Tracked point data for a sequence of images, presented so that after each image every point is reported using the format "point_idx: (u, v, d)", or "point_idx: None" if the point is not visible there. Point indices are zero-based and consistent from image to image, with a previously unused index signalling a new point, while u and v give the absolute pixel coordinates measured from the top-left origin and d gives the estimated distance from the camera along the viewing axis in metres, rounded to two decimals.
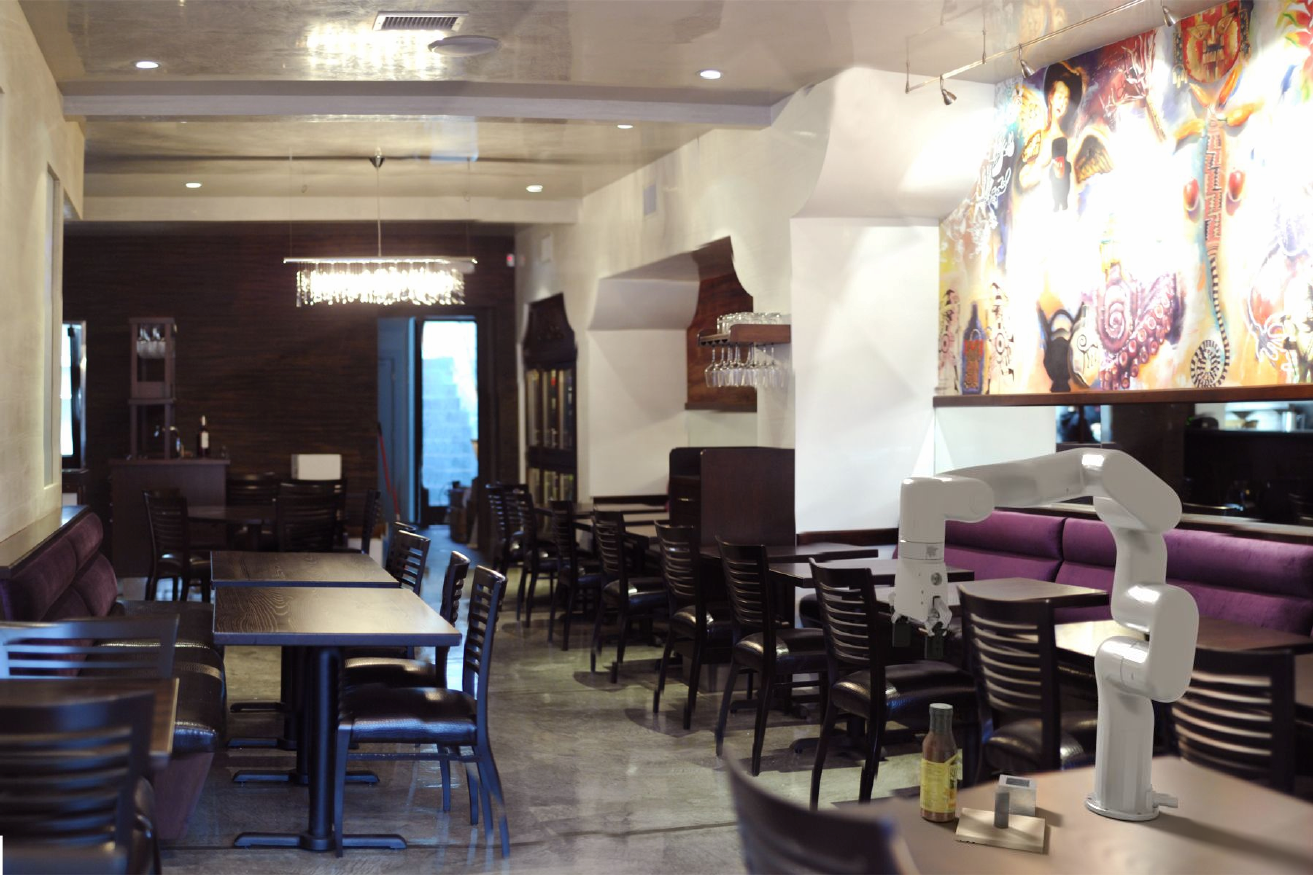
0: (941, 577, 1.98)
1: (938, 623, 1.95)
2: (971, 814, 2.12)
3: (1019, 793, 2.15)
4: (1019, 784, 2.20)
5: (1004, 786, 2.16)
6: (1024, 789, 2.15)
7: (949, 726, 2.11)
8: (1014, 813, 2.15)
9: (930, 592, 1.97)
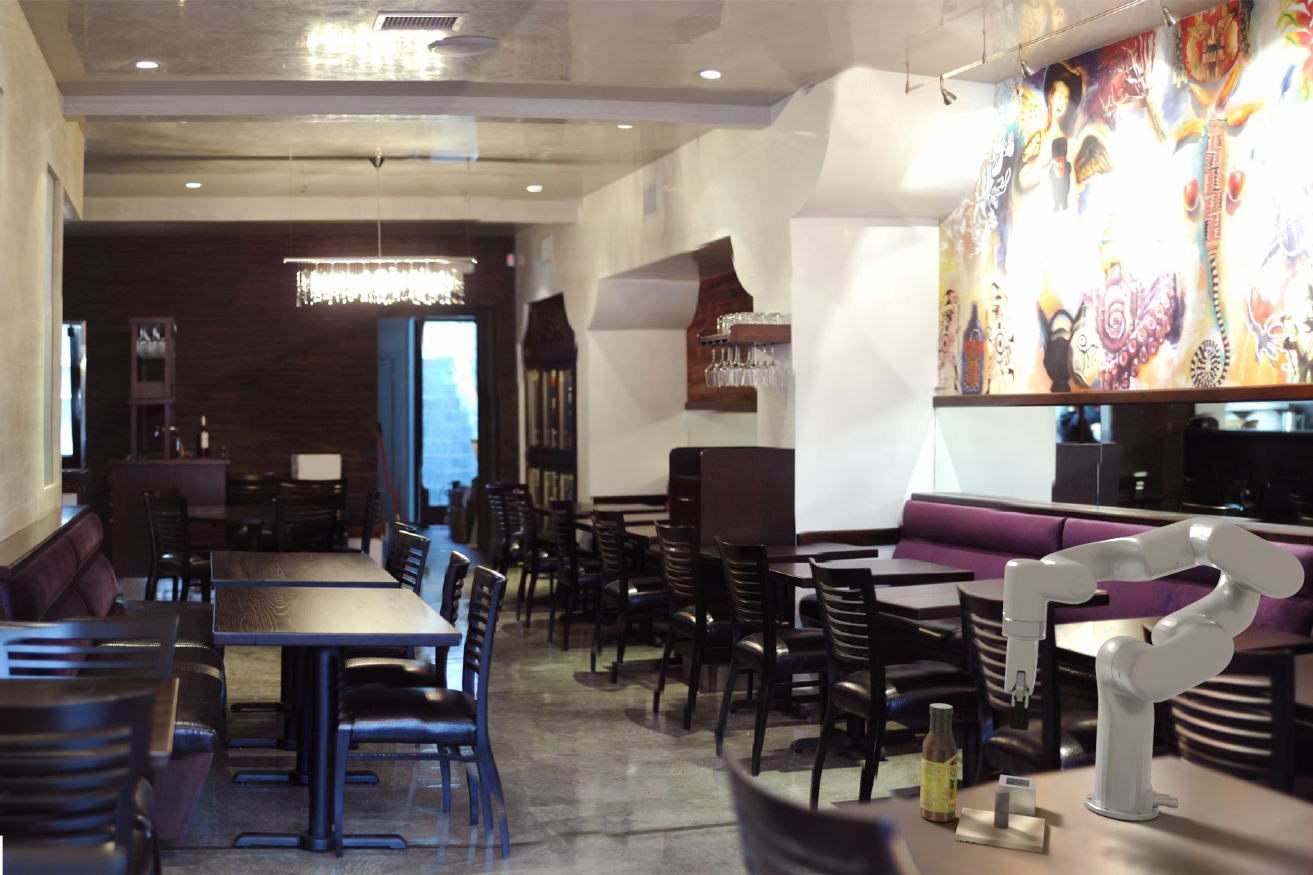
0: None
1: None
2: (971, 814, 2.12)
3: (1019, 793, 2.15)
4: (1019, 784, 2.20)
5: (1004, 786, 2.16)
6: (1024, 789, 2.15)
7: (949, 726, 2.11)
8: (1014, 813, 2.15)
9: None
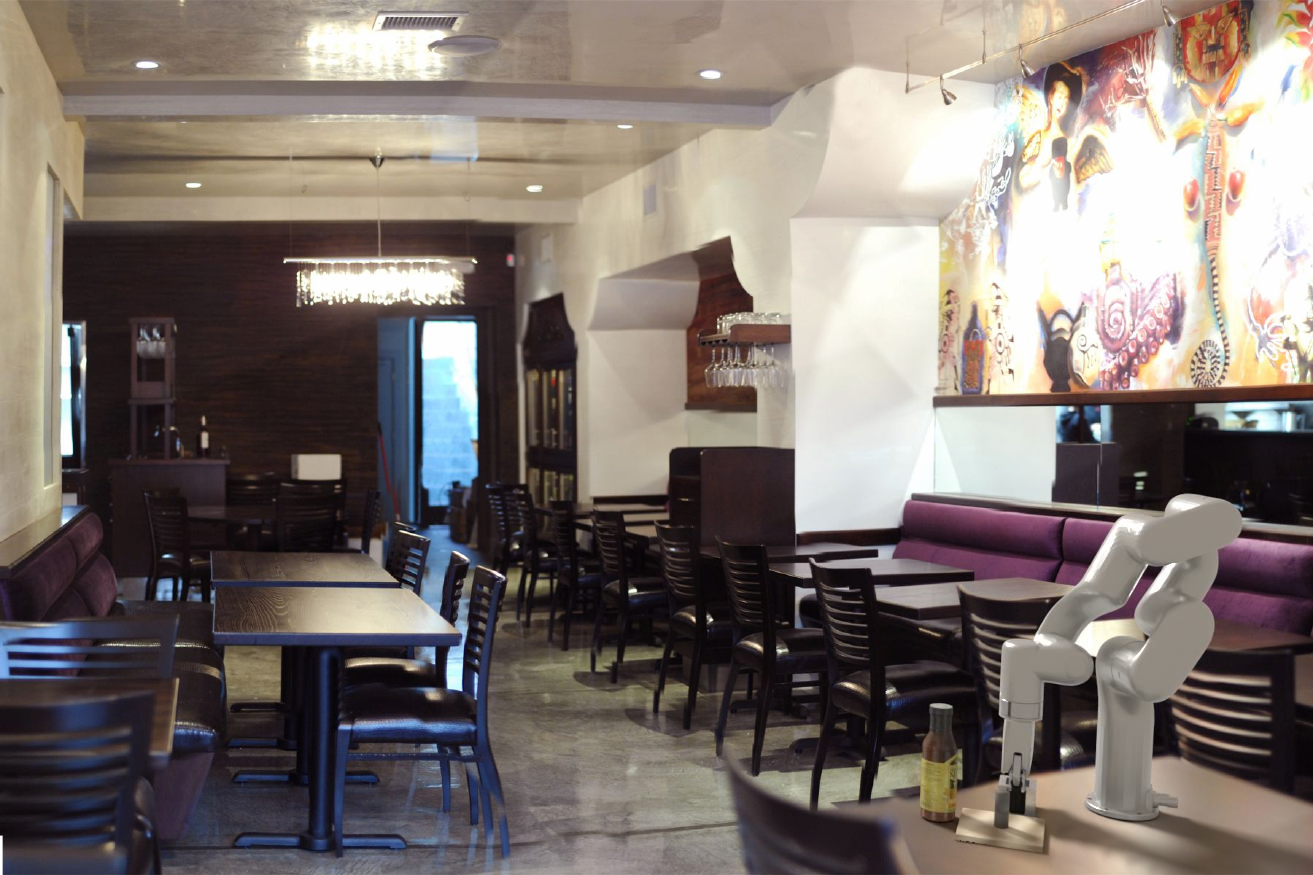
0: None
1: None
2: (971, 814, 2.12)
3: None
4: None
5: (1004, 786, 2.16)
6: None
7: (949, 726, 2.11)
8: (1014, 813, 2.15)
9: None
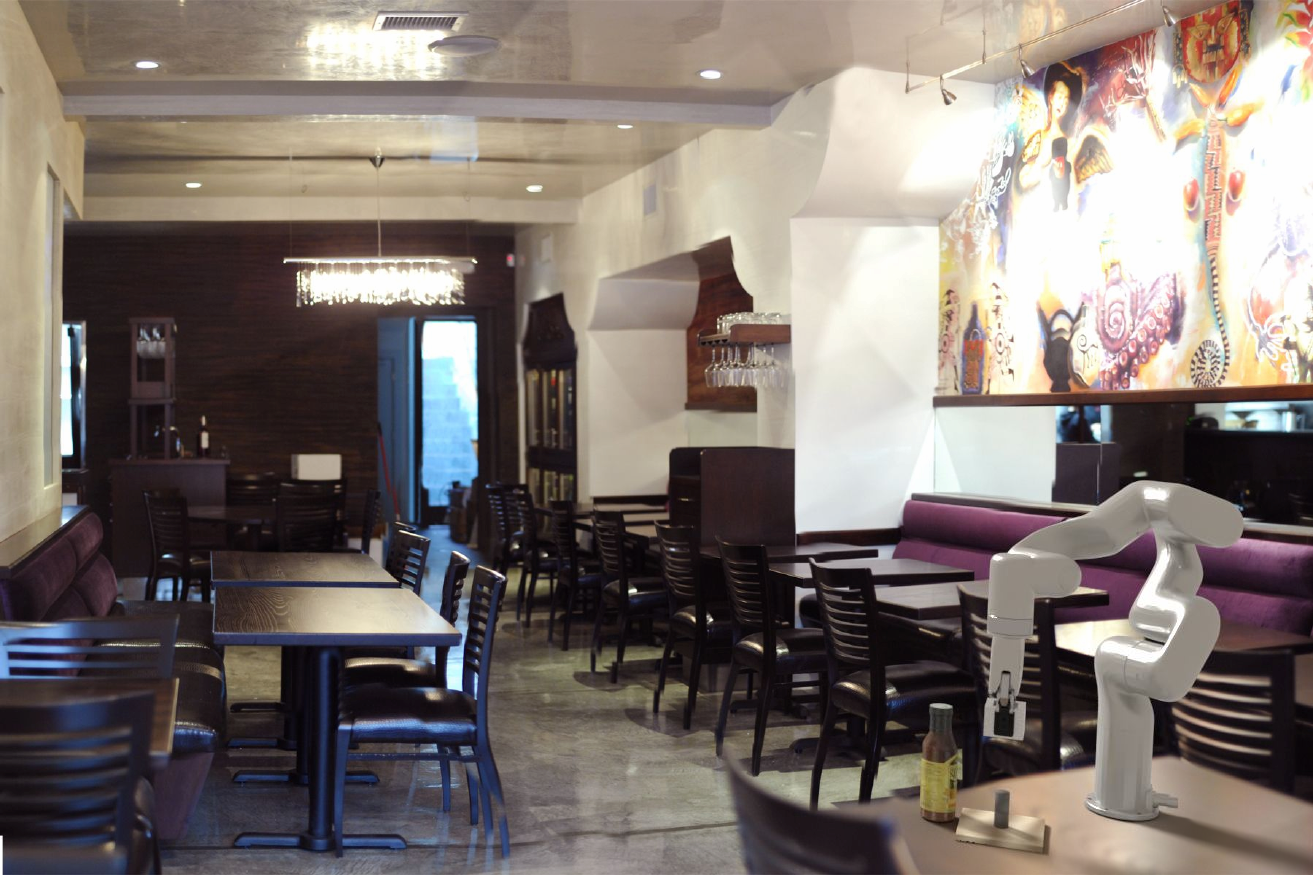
0: None
1: None
2: (971, 814, 2.12)
3: None
4: None
5: (991, 707, 2.04)
6: None
7: (949, 726, 2.11)
8: (1001, 736, 2.03)
9: None
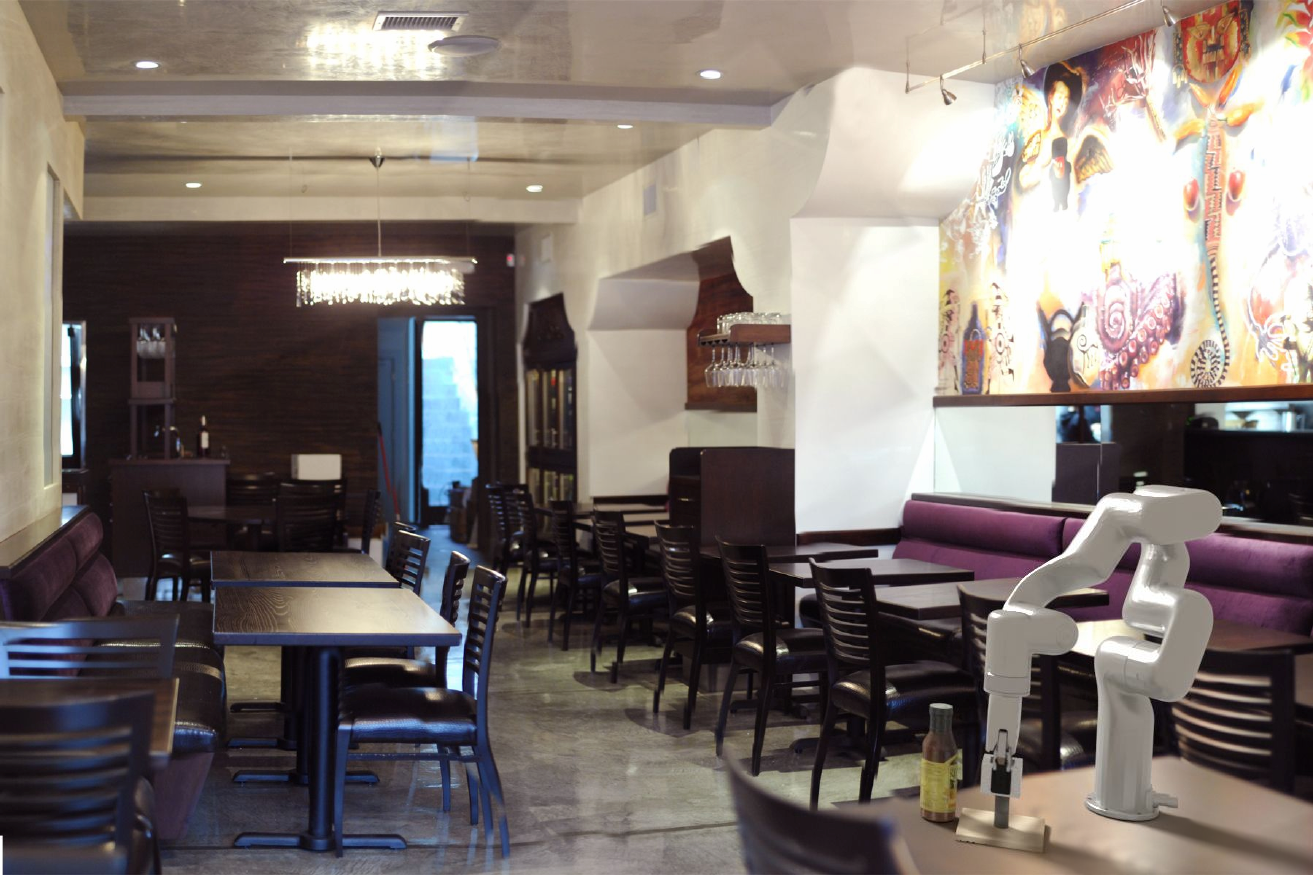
0: None
1: None
2: (971, 814, 2.12)
3: None
4: None
5: (988, 765, 2.04)
6: None
7: (949, 726, 2.11)
8: (998, 794, 2.03)
9: None
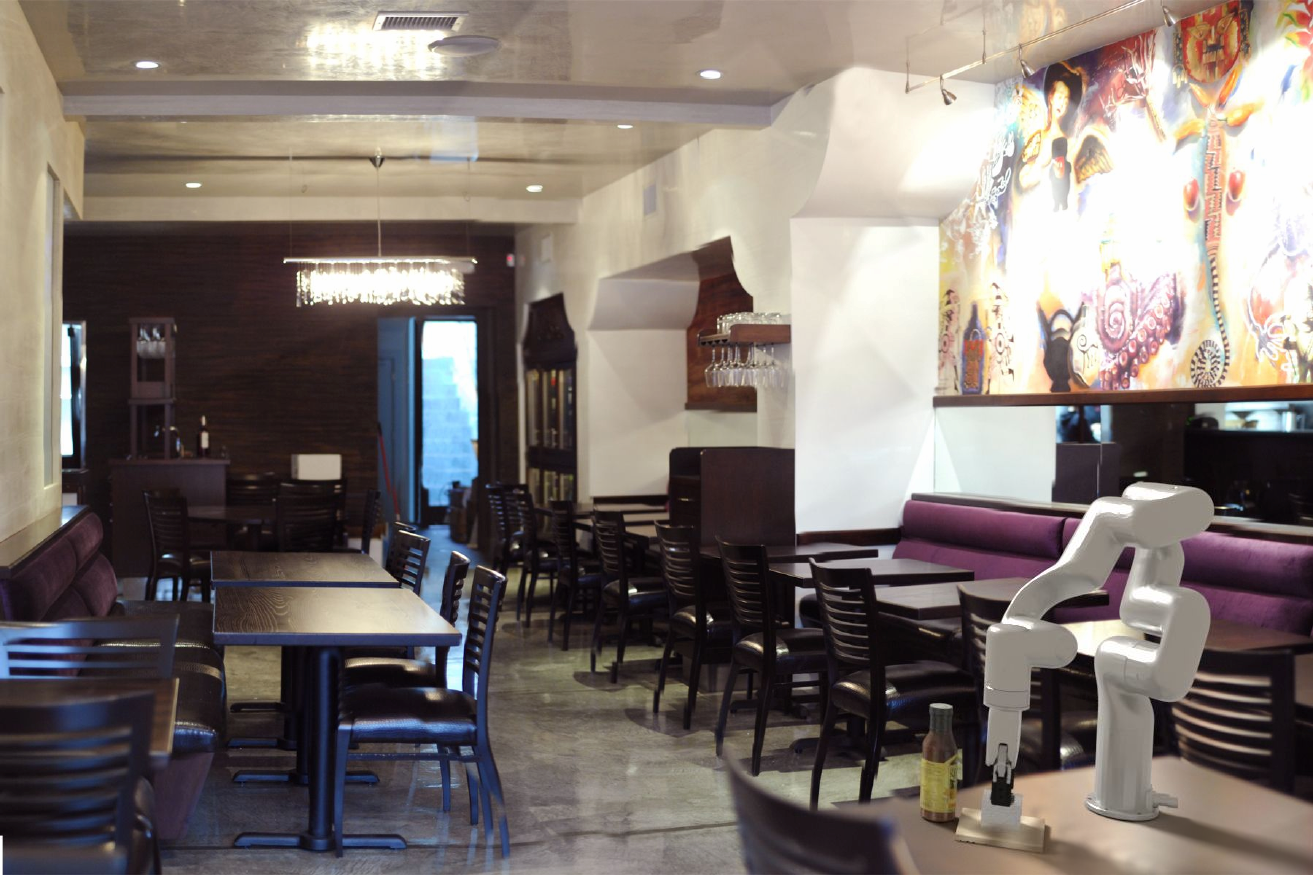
0: None
1: None
2: (971, 814, 2.12)
3: (1003, 809, 2.03)
4: None
5: (988, 802, 2.04)
6: None
7: (949, 726, 2.11)
8: (998, 830, 2.04)
9: None
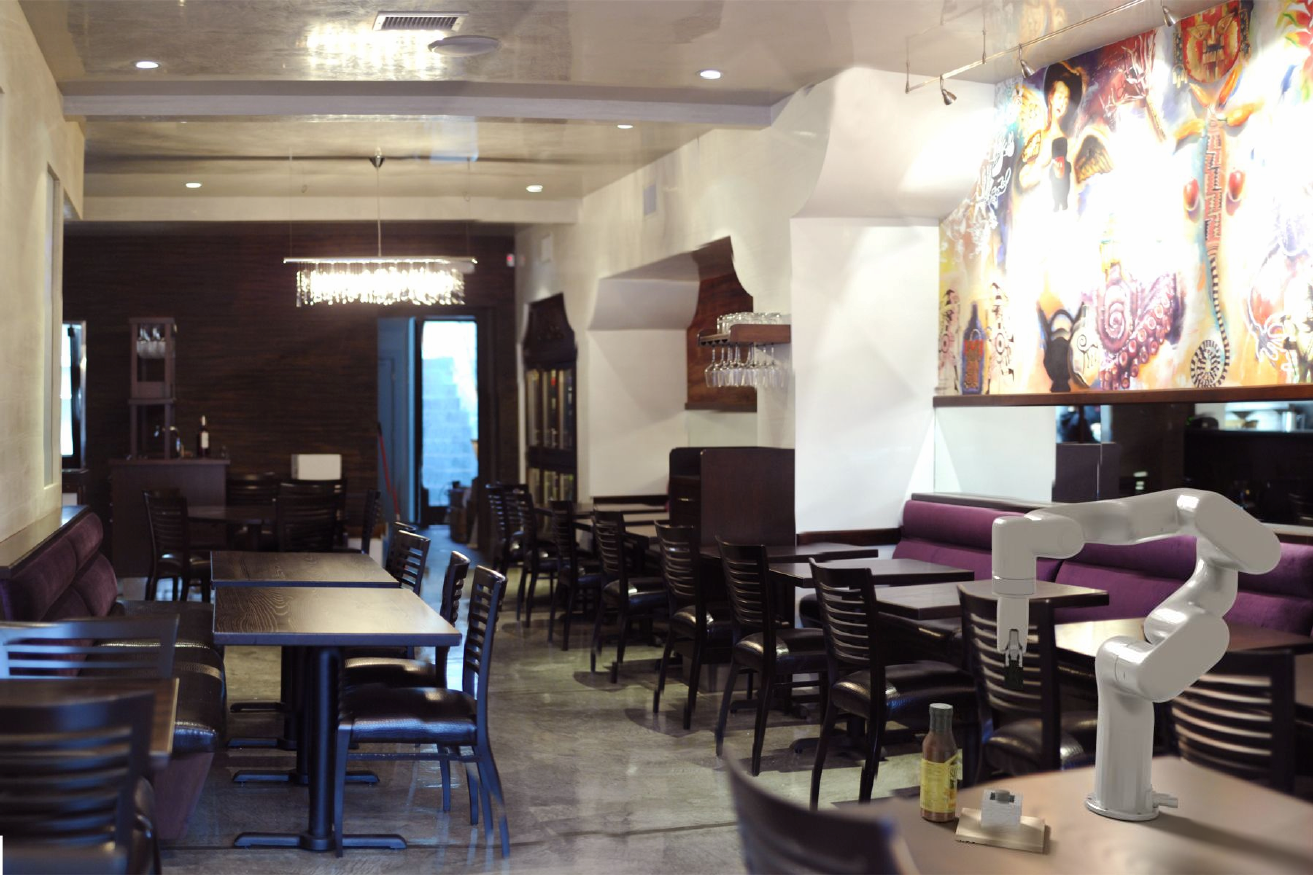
0: None
1: None
2: (971, 814, 2.12)
3: (1003, 809, 2.03)
4: None
5: (988, 802, 2.04)
6: (1009, 805, 2.03)
7: (949, 726, 2.11)
8: (998, 830, 2.04)
9: None
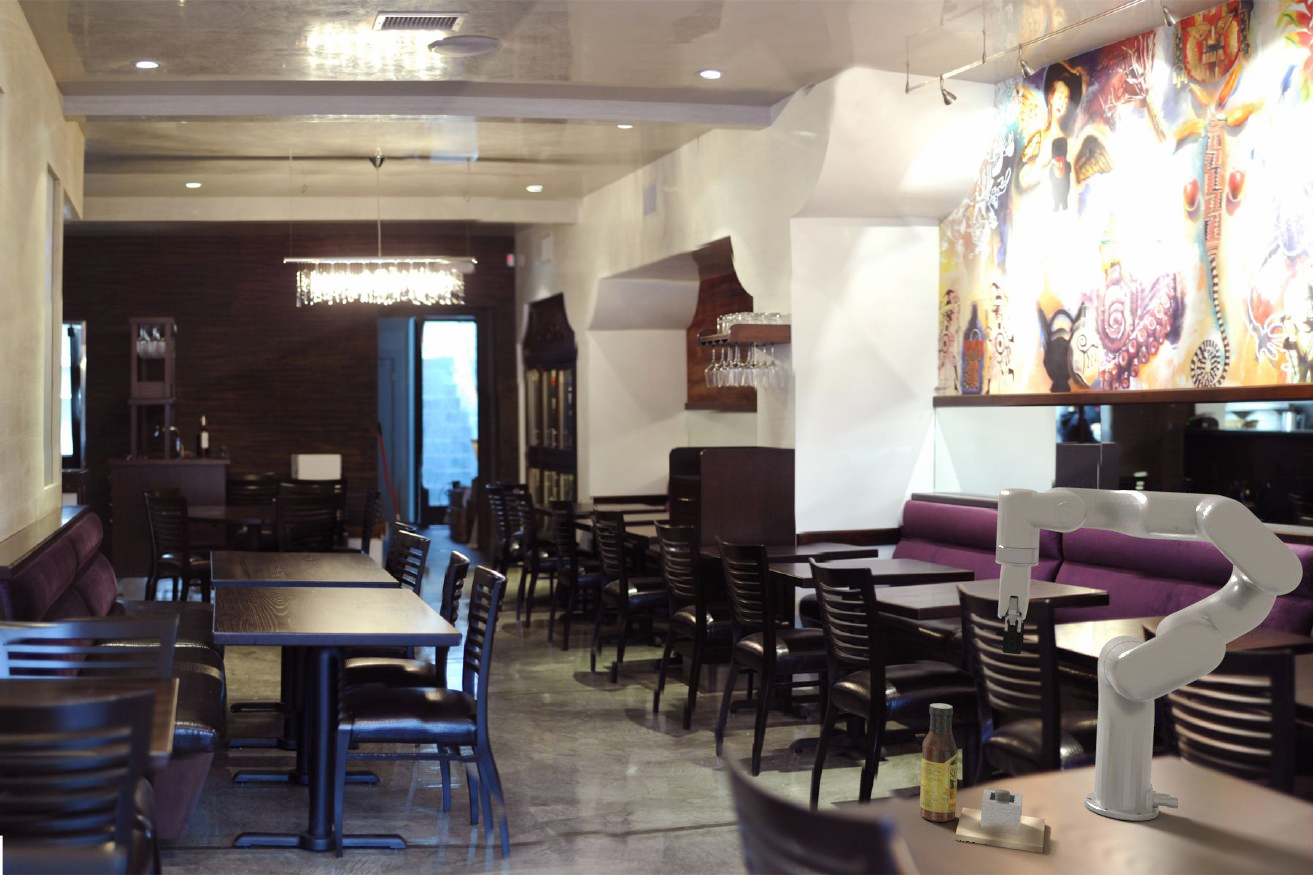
0: None
1: None
2: (971, 814, 2.12)
3: (1003, 809, 2.03)
4: None
5: (988, 802, 2.04)
6: (1009, 805, 2.03)
7: (949, 726, 2.11)
8: (998, 830, 2.04)
9: None
